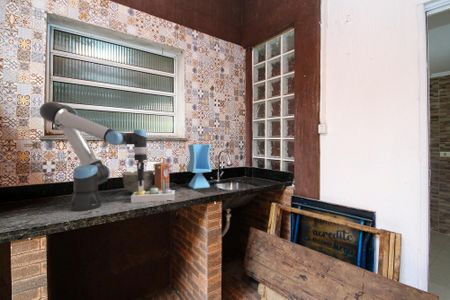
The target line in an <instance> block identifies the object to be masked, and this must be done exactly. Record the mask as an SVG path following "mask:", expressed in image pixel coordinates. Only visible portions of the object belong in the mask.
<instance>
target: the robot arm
mask: <svg viewBox="0 0 450 300" xmlns="http://www.w3.org/2000/svg"><path fill="white" fill-rule="evenodd" d="M39 115H40V117H41V118H42V119H43V120H45V122H49V123H53V124H54V125H55V127H56V128H57V129H58V130H60V131H62V133H63V134H64V136H65V138H66V139H67V141H68V143H69V145H70V147H71V148H72V150H73V151H74V153H75V155H76V156H77V158H78V160H79V162H80V164H81V165H79V166H76V167H74V168H73V173H72V176H73V177H72V179H73V196H72V199H71V202H70V205H69V208H70V210H71V211H73V212H74V211H75V212H76V211H77V212H81V211H89V210H90V211H91V210H93V209H94V210H95V209H98V208H100V207H102V202H103V201H102V199H101V197H100V194H99V189H98V188H99V185H102V184H104V183H105V182H107V181H108V180H109V178H110V177H111V176H110V174H111V172H110V171H111V170H110V169H109V167H108V166H107V165H105V164H104V163H103V162H102V160H101V159H99V158H97V157H96V155H95V153H94V152H93V149H92V148H91V146H90V145H89V142H88V141H87V139H86V138H85V136H84V135H83V134H87V135H89V136H91V137H94V138H96V139H100V140H101V141H104V142H107V143H108V144H109V145H112V146H117V145H118V146H122V145H133V153H134V155H133V159H134V161H137V163H136V167H137V168H136V169H137V170H136V171H138V180H137V181H138V183H139V191H143V180H144V170H145V162H144V161H146V160H147V158H148V157H147V156H148V155H147V151H148V148H147V141H148V140H147V139H148V138H147V137H148V136H147V130H146V129H142V128H141V129H139V128H138V129H133V132H122V131H118V130H114V129H112V128H109V127H106V126H104V125H102V124H100V123H98V122H97V123H96V122H95V121H92V120H89V119H86V118H84V117H82V116H79V114H78V111H76V109H75V108H73V107H72V106H69V105H68V104H62V103H59V102H55V101H48V102H45V103H43V104H42V105H41V106H40V107H39Z"/></svg>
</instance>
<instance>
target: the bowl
mask: <svg viewBox="0 0 450 300" xmlns="http://www.w3.org/2000/svg"><path fill="white" fill-rule="evenodd" d="M121 175H122V180H123V187H124V189H125V190H126V191H127V192H130V193H132V194H133V193H134V192H137V191H139V183H138V181H137V180H138V170H134V172H132V171H123V172H121ZM154 175H155V171H152V170H145V171H144V180H143V190H145V192H147V190H150V188H152V186H153V183H154V182H153V179H154Z"/></svg>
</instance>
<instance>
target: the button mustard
mask: <svg viewBox="0 0 450 300" xmlns="http://www.w3.org/2000/svg"><path fill="white" fill-rule="evenodd" d="M145 192H146V191H145V190H143V191H137V195H145Z"/></svg>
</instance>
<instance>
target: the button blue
mask: <svg viewBox="0 0 450 300" xmlns="http://www.w3.org/2000/svg"><path fill="white" fill-rule="evenodd" d="M171 190H172V189H171V188H169V189H164V190H163V194H166V193H171Z"/></svg>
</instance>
